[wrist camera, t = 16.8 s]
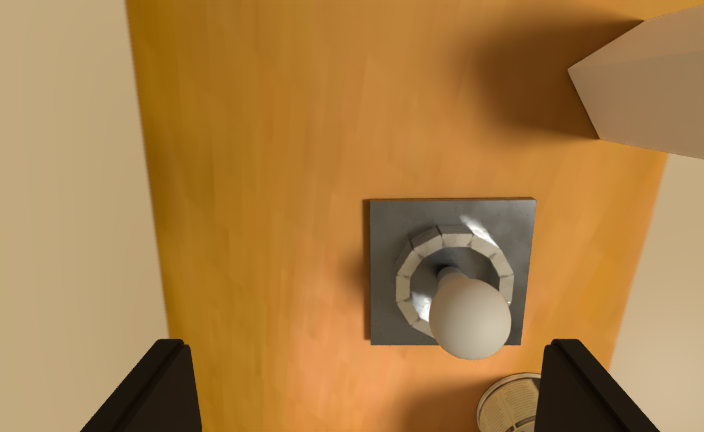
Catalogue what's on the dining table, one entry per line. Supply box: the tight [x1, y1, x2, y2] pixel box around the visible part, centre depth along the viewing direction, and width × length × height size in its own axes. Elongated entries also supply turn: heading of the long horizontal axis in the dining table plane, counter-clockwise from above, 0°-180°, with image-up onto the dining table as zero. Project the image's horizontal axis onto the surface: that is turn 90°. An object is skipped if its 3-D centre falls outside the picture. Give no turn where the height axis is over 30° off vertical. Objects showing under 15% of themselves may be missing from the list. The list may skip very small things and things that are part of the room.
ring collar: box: [370, 197, 537, 345], centre depth 39 cm, size 15×15×4 cm
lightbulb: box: [428, 266, 511, 360], centre depth 34 cm, size 6×6×11 cm
